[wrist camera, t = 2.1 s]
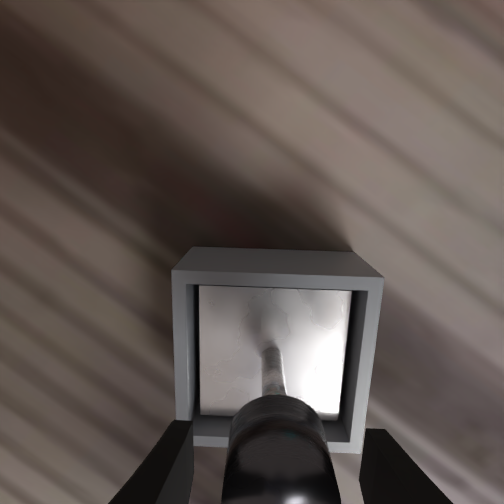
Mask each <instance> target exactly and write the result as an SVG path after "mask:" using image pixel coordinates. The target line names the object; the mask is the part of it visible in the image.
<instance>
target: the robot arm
mask: <svg viewBox="0 0 504 504" xmlns="http://www.w3.org/2000/svg"><path fill="white" fill-rule="evenodd" d="M193 474H194V449H193V421H189V420H174V421H172V422H171V423H170V425H169V426H168V428H167V429H166V431H165V432H164V434H163V435H162V437H161V438H160V440H159V441H158V442H157V444H156V445H155V447H154V448H153V449H152V451H151V452H150V453H149V455H148V456H147V457H146V459H145V460H144V461H143V462H142V464H141V465H140V466H139V467H138V469H137V470H136V471H135V473H134V474H133V475H132V476H131V478H130V479H129V480H128V481H127V482H126V484H125V485H124V486H123V487H122V488H121V489H120V491H119V492H118V493H117V494H116V495H115V496H114V498H113V499H112V500H111V501H110V502H109V503H108V504H188V503H189V497H190V492H191V486H192V480H193ZM359 482H360V487H361V491H362V496H363V500H364V504H453V503H452V502H451V501H450V500H449V499H448V498H447V497H446V496H445V495H444V493H443V492H442V491H441V490H440V489H439V488H438V487H437V486H436V485H435V484H434V483H433V482H432V481H431V480H430V479H429V478H428V476H427V475H426V474H425V473H424V472H423V471H422V470H421V469H420V468H419V467H418V465H417V464H416V463H415V462H414V461H413V460H412V459H411V458H410V457H409V455H408V454H407V453H406V452H405V451H404V450H403V449H402V448H401V446H400V445H399V444H398V443H397V442H396V441H395V440H394V439H393V437H392V436H391V435H390V434H389V433H388V432H387V431H386V430H385V429H370V428H366V432H365V439H364V446H363V454H362V461H361V469H360V476H359Z"/></svg>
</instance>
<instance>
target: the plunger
mask: <svg viewBox="0 0 504 504" xmlns="http://www.w3.org/2000/svg"><path fill="white" fill-rule="evenodd" d="M351 294H352V291H351V290H338V289H311V288H284V287H256V286H229V285H202V284H200V285H199V323H200V415H220V416H234V418H233V420H232V422H231V426H230V432H229V440H228V449H227V457H226V466H225V474H224V482H223V491H222V500H221V504H341V498H340V493H339V489H338V485H337V481H336V477H335V473H334V469H333V465H332V461H331V457H330V452H329V448H328V444H327V440H326V436H325V432H324V428H323V425H322V422H321V420H334V421H338V413H339V403H340V394H341V385H342V376H343V367H344V358H345V349H346V340H347V330H348V321H349V312H350V303H351Z"/></svg>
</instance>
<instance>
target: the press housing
mask: <svg viewBox="0 0 504 504" xmlns="http://www.w3.org/2000/svg"><path fill="white" fill-rule="evenodd" d="M171 277H172V308H173V340H174V371H175V403H176V420H189V421H193V446H205V447H227V448H228V440H229V432H230V426H231V422H232V420H233V418H234V416H220V415H200V323H199V285H200V284H202V285H229V286H256V287H284V288H311V289H338V290H351V291H352V294H351V303H350V312H349V321H348V330H347V340H346V349H345V358H344V367H343V376H342V385H341V394H340V403H339V413H338V421H334V420H321V422H322V425H323V428H324V432H325V436H326V440H327V444H328V448H329V452H336V453H358V454H361V449H362V442H363V434H364V427H365V419H366V412H367V404H368V397H369V389H370V382H371V374H372V367H373V359H374V352H375V344H376V337H377V329H378V322H379V315H380V307H381V300H382V292H383V285H384V277H383V276H382V275H381V274H380V273H378V272H377V271H376V270H375V269H374V268H373V267H371V266H370V265H369V264H368V263H367V262H365V261H364V260H363V259H362V258H361V257H360V256H358V255H357V254H356V253H355V252H339V251H310V250H281V249H252V248H223V247H194V246H193V247H192V248H191V249H190V250H189V251H188V252H187V253H186V254H185V256H184V257H183V258H182V259H181V260H180V261H179V262H178V263H177V264H176V265H175V266H174V268H173V269H172V270H171Z"/></svg>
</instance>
